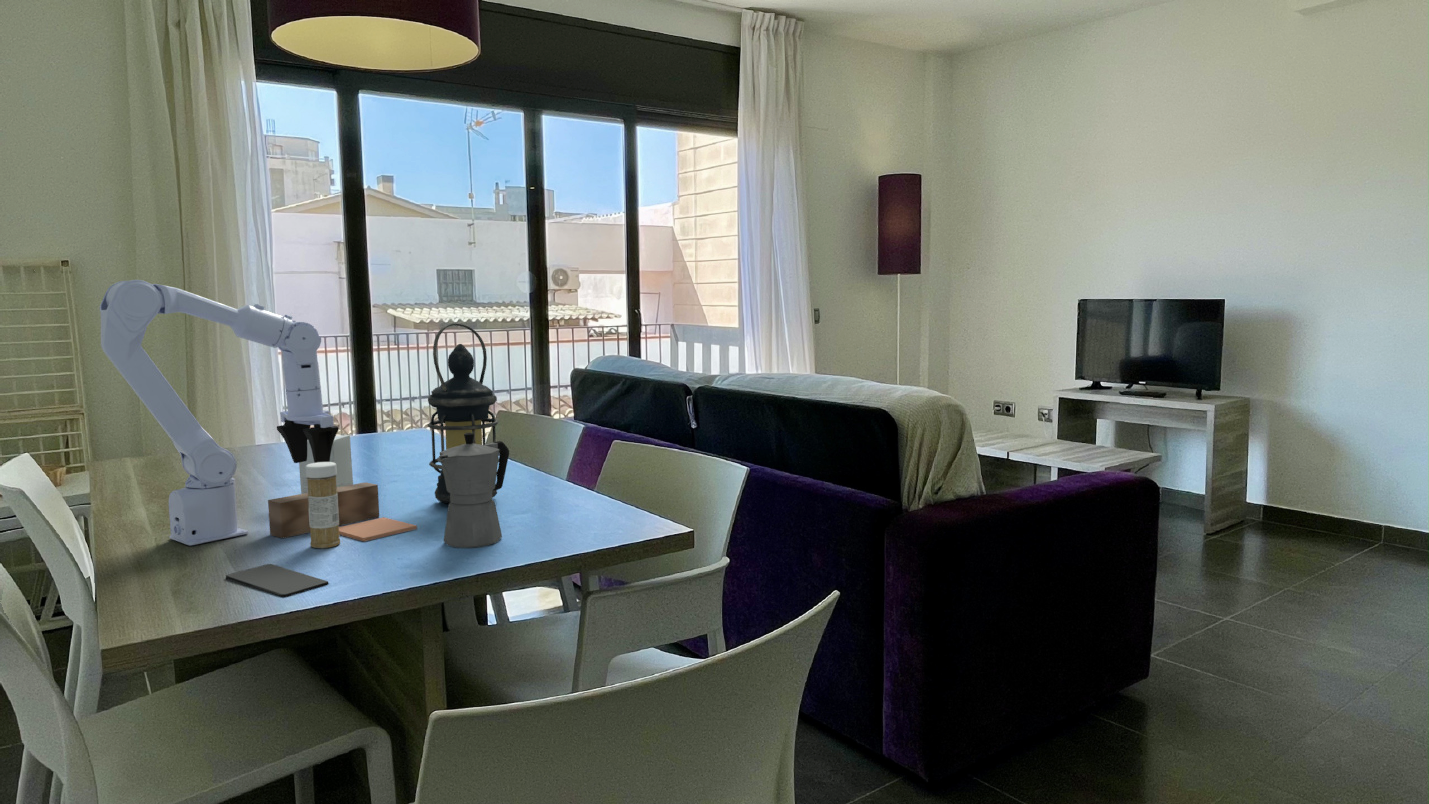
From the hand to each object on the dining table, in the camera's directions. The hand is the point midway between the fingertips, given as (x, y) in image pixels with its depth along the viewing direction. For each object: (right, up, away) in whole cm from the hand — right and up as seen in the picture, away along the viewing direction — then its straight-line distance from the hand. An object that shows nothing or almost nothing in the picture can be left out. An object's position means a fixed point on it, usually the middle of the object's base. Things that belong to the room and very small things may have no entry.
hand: (311, 464), depth 159 cm
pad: (+14, -11, -7) cm, 19 cm away
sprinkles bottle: (+10, -12, -16) cm, 22 cm away
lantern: (+24, -9, +14) cm, 29 cm away
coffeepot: (+33, -12, -13) cm, 38 cm away
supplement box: (-4, -9, +17) cm, 19 cm away
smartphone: (+11, -15, -34) cm, 39 cm away
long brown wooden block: (+4, -11, -3) cm, 12 cm away
